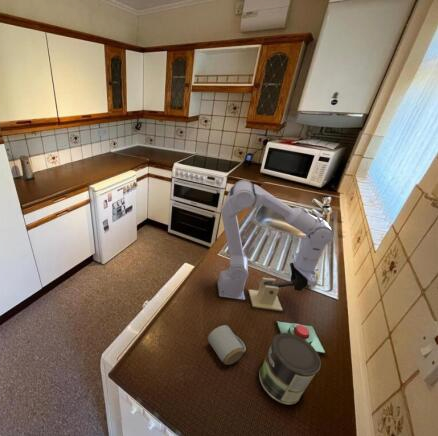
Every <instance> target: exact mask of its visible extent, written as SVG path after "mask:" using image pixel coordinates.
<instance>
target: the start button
mask: <svg viewBox="0 0 438 436" xmlns="http://www.w3.org/2000/svg"><path fill="white" fill-rule="evenodd" d="M303 325H304V324H301V325H297V326H296V328H295V334H296V335H297V336H299V337H301V338H303V339H305V338H307V337H308V335H309V330H308V329H307V328H306V327H305V326H306V325H305V326H303Z"/></svg>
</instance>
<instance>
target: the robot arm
mask: <svg viewBox="0 0 438 436" xmlns="http://www.w3.org/2000/svg"><path fill="white" fill-rule="evenodd" d="M251 207H253V209H254V208H259V207H264V208H267V209H269V210H271V211H272V212H275V213H276V214H278V215H280V216H282V217H284V219H285V223H286V224H287V225H289V226H290V227H292V228H294V229H295V230H298V231H299V232H301V233H303V234H304V235H305V237H304V239H303V241H302V244H301V245H300V246H301V247H300V248H299V251H298V252H295V251H294V252H292V256H291V258H292V259H293V262H289V267H290V281H293V279H295V278H296V282H295V286H294V287H293V289H294V291H298V292H299V291H300V292H301V291H303V290H304V289H305V288H306V287H308V286H307V285H311V286H310V287H316V286H317V284H318V281H319V280H318V281H317V280H316V272H317V271H319V267H318V263H319V261H320V259H321V256H322V255H323V253H324V250H325V248H326V246H327V245H328V244H330V243H331V242H333V240H334V239H335V237H334V230H333V229H332V228H331V226H330V225H329V224H328V222H327V221H326V220H325V219H324V218H322V217H316V216H315V215H312V214H311V213H309V210H308V209H307V208H306V207H304V208H301V207H299V206H297V207H291V206H289V205H288V204H287V203H285V202H283V200H280V199H279V198H278V197H276V196H274V195H273V194H271V193H269V192H268V191H267V190H265V189H264V188H262V187H261V186H259V185H258V184H255V183H252V182H251V181H249V180H248V179H241V180H238V181H237V182H235V183H234V184H233V185H232V186H231V187H230V188H229V190H228V193H227V195H226V197H225V199H224V202H223V203H222V204H221V209H220V214H221V218H222V224H223V229H224V233H225V234H224V235H225V238H226V244H227V249H228V253H229V254H228V255H229V263H230V264H229V267H228V268H227V269H224V270H220V272H219V276H218V280H217V289H218V296H219V297H221V298H229V299H235V300H236V299H238V300H243V301H245V300H246V296H245V292H244V289H245V286H246V282H247V279H248V278H249V276H250V275H249V264H248V263H249V258H248V256H247V255H246V253H245V250H244V248H243V244H242V238H241V231H240V226H239V220H238V214H239V213H241V212H244V211H246V210H248V209H249V208H251Z"/></svg>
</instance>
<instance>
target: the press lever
mask: <svg viewBox="0 0 438 436" xmlns="http://www.w3.org/2000/svg"><path fill="white" fill-rule="evenodd" d="M295 282H296V278H295V279H293V281H291V280H290V281H284V282H278V283H276V282H275V284H273V282H265V283H264V286H265V285H267V286H275V287H279V288H286V287H293V286H295Z"/></svg>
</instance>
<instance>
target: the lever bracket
mask: <svg viewBox="0 0 438 436" xmlns="http://www.w3.org/2000/svg"><path fill="white" fill-rule="evenodd" d="M276 281H277V280H276V278H271V277H261V279H260V284H259V287H258V289H257V290H256V289H248V294H249V299H250V302H251V306H252V308H256V309H263V310H264V309H265V310H271V311H278V312H283V307H282V305H281V302H280V299H279V297H278V294H279V291H280V287H275V286H267V285H265V286H264V283H265V282H273V284H276Z"/></svg>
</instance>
